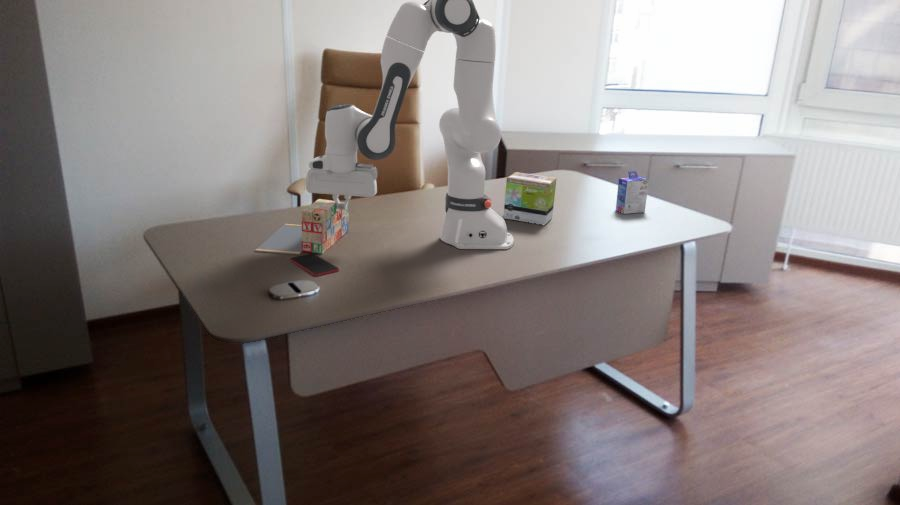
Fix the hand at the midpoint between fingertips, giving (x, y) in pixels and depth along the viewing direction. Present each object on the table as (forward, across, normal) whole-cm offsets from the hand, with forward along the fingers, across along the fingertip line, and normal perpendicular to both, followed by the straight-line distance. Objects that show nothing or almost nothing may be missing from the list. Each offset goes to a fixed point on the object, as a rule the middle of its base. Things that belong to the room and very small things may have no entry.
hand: (341, 209), depth 189 cm
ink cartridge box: (+10, -92, -55) cm, 108 cm away
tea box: (+10, -55, -37) cm, 67 cm away
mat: (+10, +15, 0) cm, 19 cm away
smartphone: (+11, +3, +19) cm, 22 cm away
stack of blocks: (+10, +5, 0) cm, 11 cm away
